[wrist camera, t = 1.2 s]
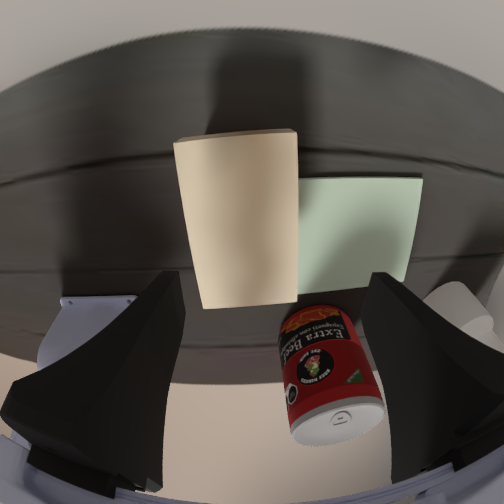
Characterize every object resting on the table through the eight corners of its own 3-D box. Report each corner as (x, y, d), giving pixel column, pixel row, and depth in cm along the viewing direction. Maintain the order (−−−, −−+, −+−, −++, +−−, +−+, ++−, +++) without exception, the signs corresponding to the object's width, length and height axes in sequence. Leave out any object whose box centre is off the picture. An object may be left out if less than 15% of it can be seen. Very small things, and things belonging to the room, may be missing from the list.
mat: (291, 292, 25) (291, 294, 24) (290, 178, 20) (291, 180, 19) (401, 278, 25) (403, 281, 24) (420, 177, 20) (422, 179, 19)
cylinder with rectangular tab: (399, 344, 30) (437, 425, 19) (423, 285, 25) (482, 372, 15) (451, 332, 30) (491, 399, 20) (476, 277, 26) (533, 345, 15)
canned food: (337, 289, 25) (378, 390, 15) (358, 337, 28) (391, 423, 19) (262, 323, 26) (272, 429, 17) (295, 365, 30) (311, 453, 20)
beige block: (206, 289, 19) (203, 308, 17) (181, 138, 14) (173, 143, 12) (292, 282, 19) (296, 301, 17) (289, 128, 14) (296, 132, 12)
